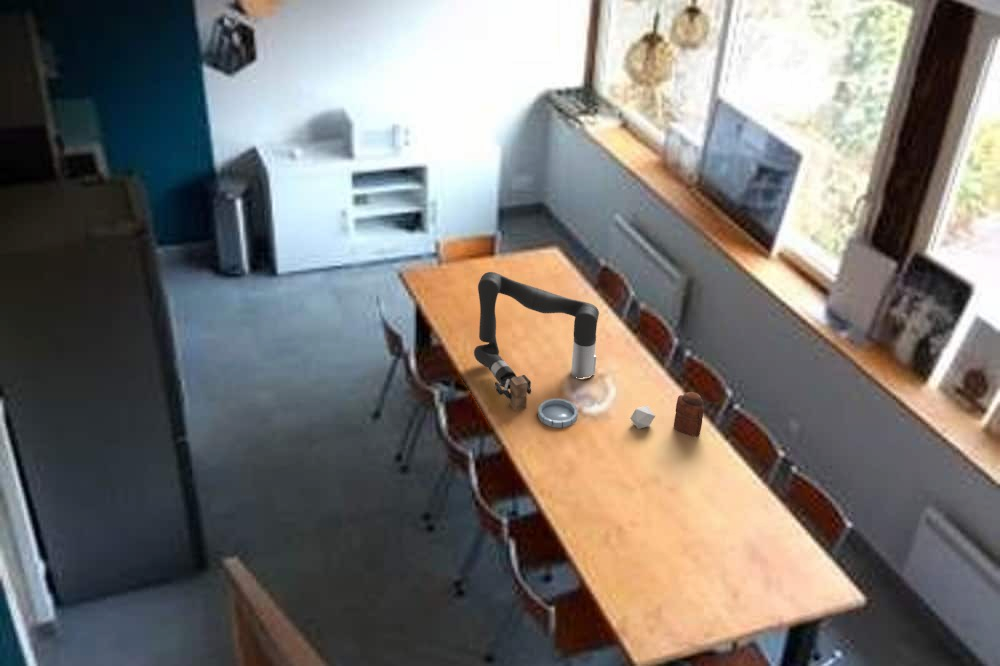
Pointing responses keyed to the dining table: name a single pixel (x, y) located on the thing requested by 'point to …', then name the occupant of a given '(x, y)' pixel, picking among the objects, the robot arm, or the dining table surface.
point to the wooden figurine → (689, 414)
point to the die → (642, 417)
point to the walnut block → (518, 393)
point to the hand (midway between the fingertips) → (520, 394)
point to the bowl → (557, 413)
